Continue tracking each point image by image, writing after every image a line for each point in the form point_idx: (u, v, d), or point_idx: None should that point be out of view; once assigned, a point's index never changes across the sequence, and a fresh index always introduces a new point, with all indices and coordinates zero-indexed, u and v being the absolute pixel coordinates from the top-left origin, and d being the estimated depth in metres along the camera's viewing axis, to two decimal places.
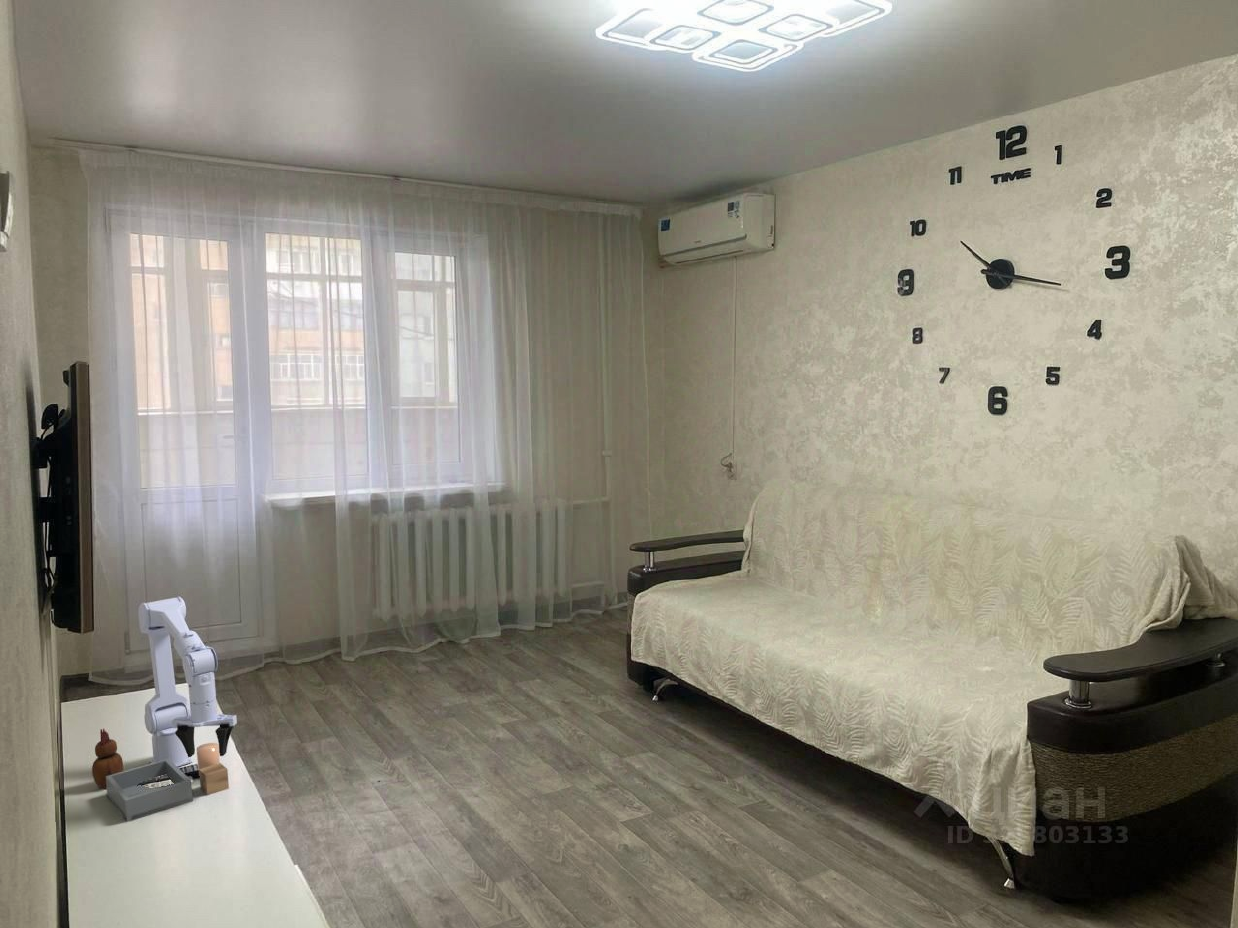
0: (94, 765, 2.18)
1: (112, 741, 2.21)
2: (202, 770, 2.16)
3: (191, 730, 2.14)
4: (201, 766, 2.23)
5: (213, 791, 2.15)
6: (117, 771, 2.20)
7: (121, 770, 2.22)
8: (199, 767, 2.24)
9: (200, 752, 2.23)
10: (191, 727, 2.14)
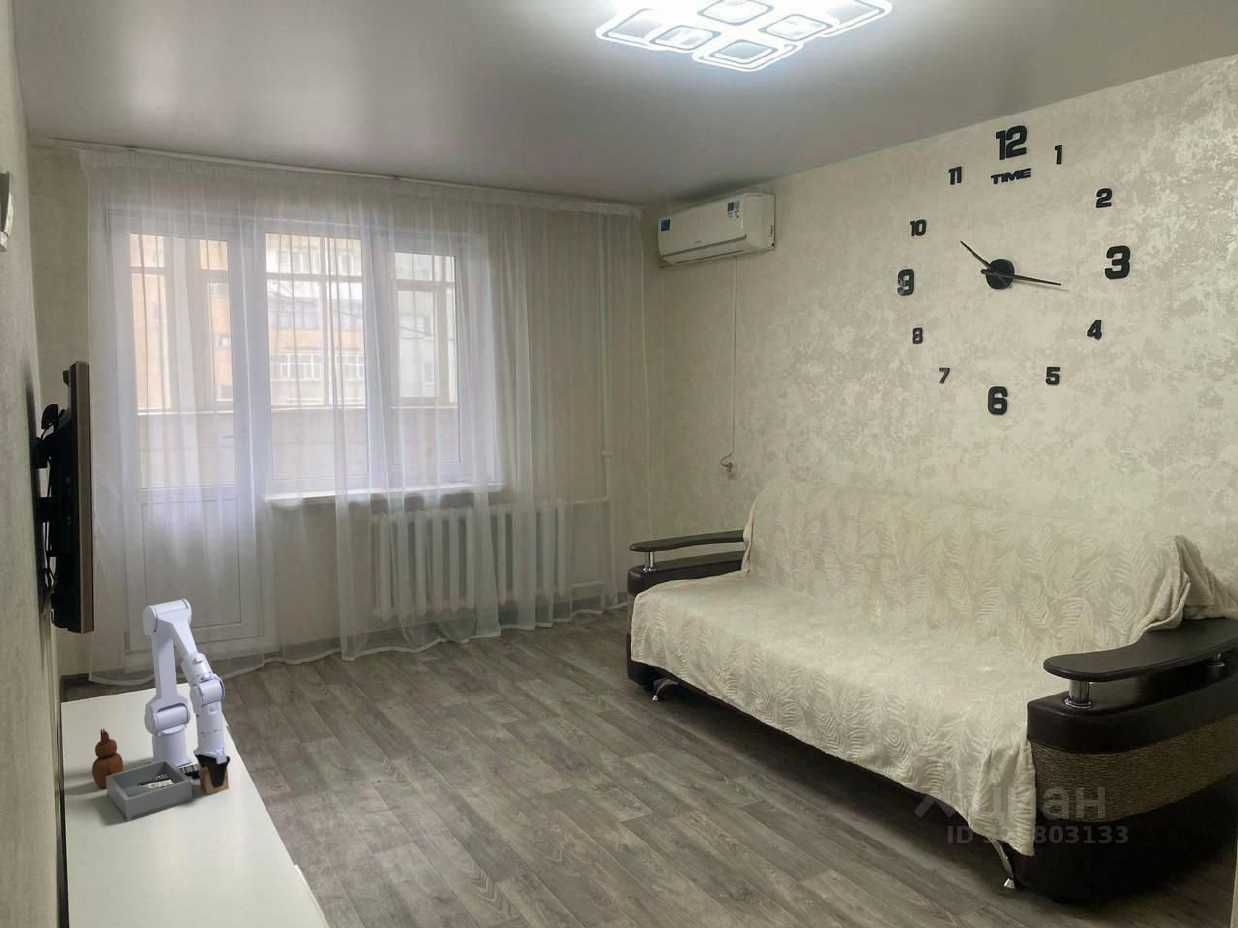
0: (94, 765, 2.18)
1: (112, 741, 2.21)
2: (202, 770, 2.16)
3: None
4: None
5: (213, 791, 2.15)
6: (117, 771, 2.20)
7: (121, 770, 2.22)
8: (199, 767, 2.24)
9: None
10: None
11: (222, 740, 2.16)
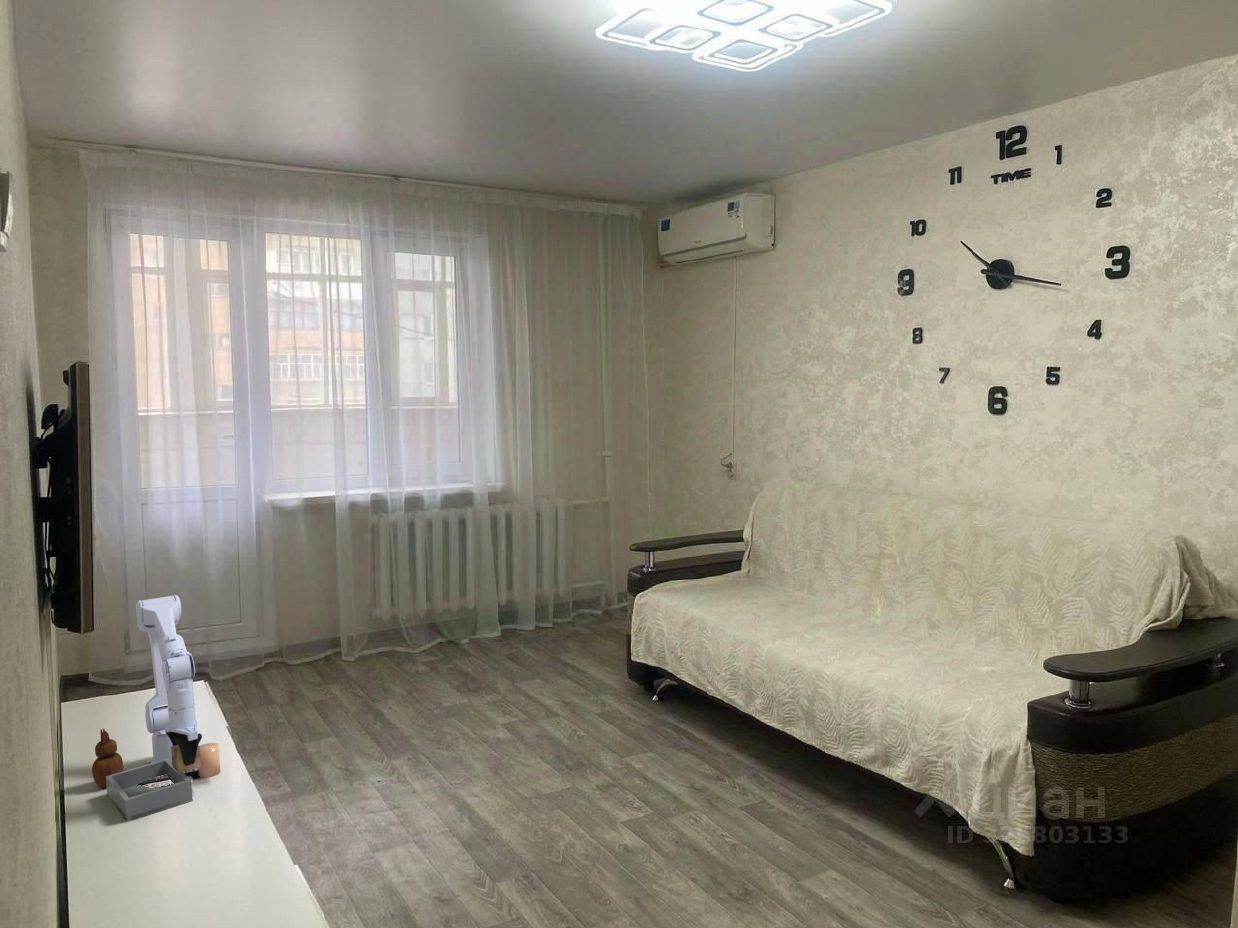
0: (94, 765, 2.18)
1: (112, 741, 2.21)
2: (174, 747, 2.13)
3: None
4: (201, 766, 2.23)
5: (185, 768, 2.11)
6: (117, 771, 2.20)
7: (121, 770, 2.22)
8: (199, 767, 2.24)
9: (200, 752, 2.23)
10: None
11: (194, 717, 2.13)
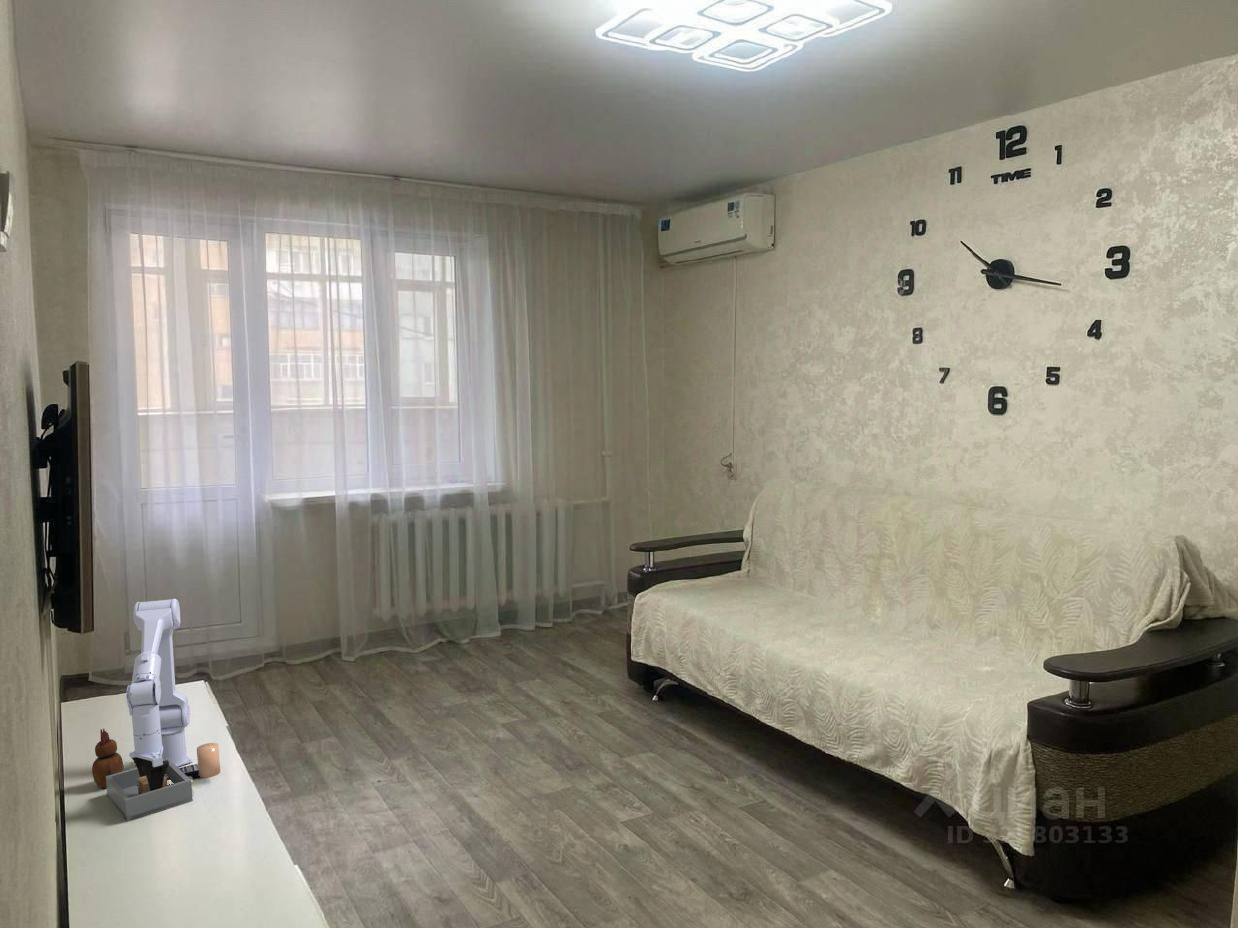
0: (94, 765, 2.18)
1: (112, 741, 2.21)
2: (140, 779, 2.10)
3: None
4: (201, 766, 2.23)
5: None
6: (117, 771, 2.20)
7: (121, 770, 2.22)
8: (199, 767, 2.24)
9: (200, 752, 2.23)
10: None
11: (160, 743, 2.09)
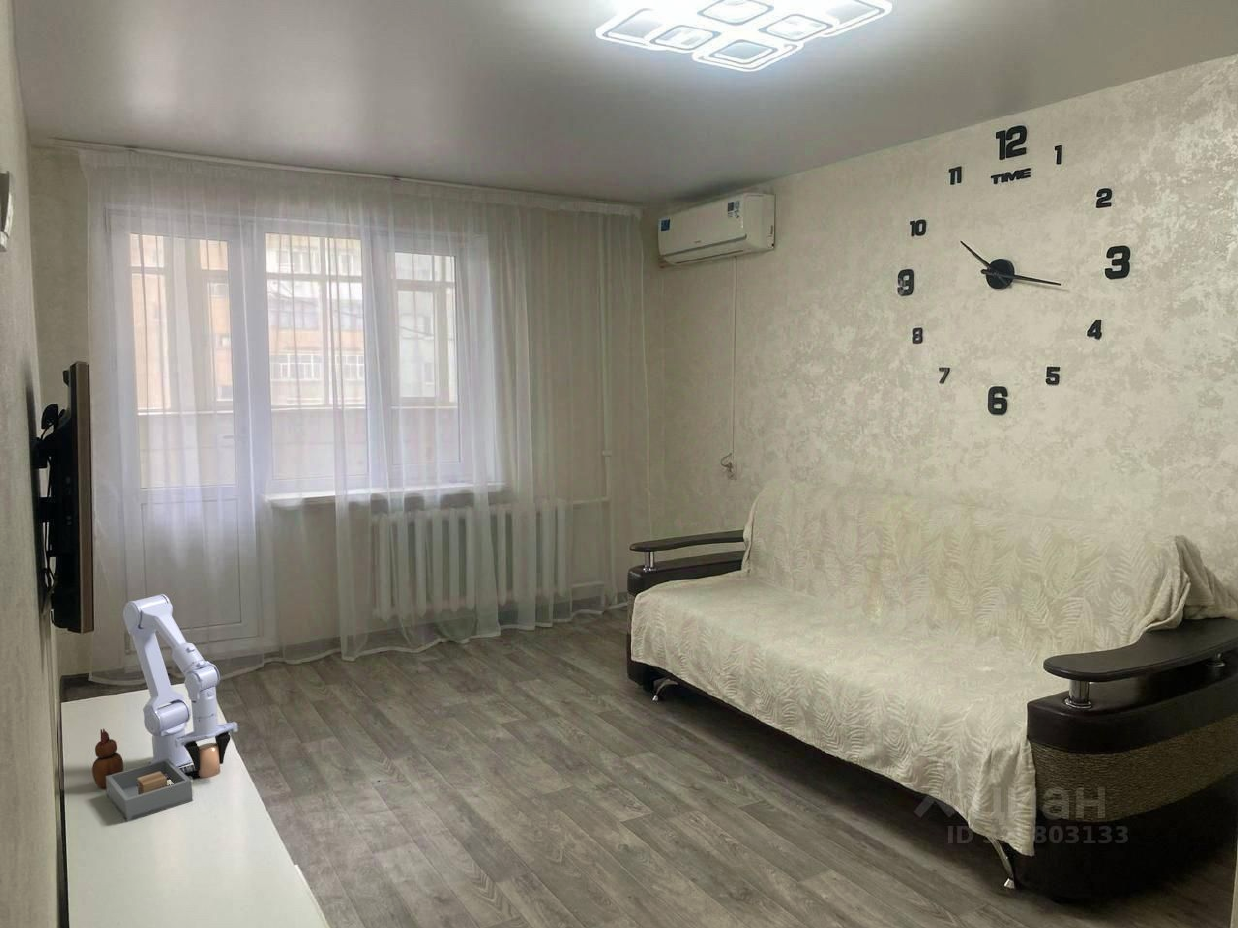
0: (94, 765, 2.18)
1: (112, 741, 2.21)
2: (140, 779, 2.10)
3: None
4: (201, 766, 2.23)
5: None
6: (117, 771, 2.20)
7: (121, 770, 2.22)
8: None
9: (200, 752, 2.23)
10: None
11: None
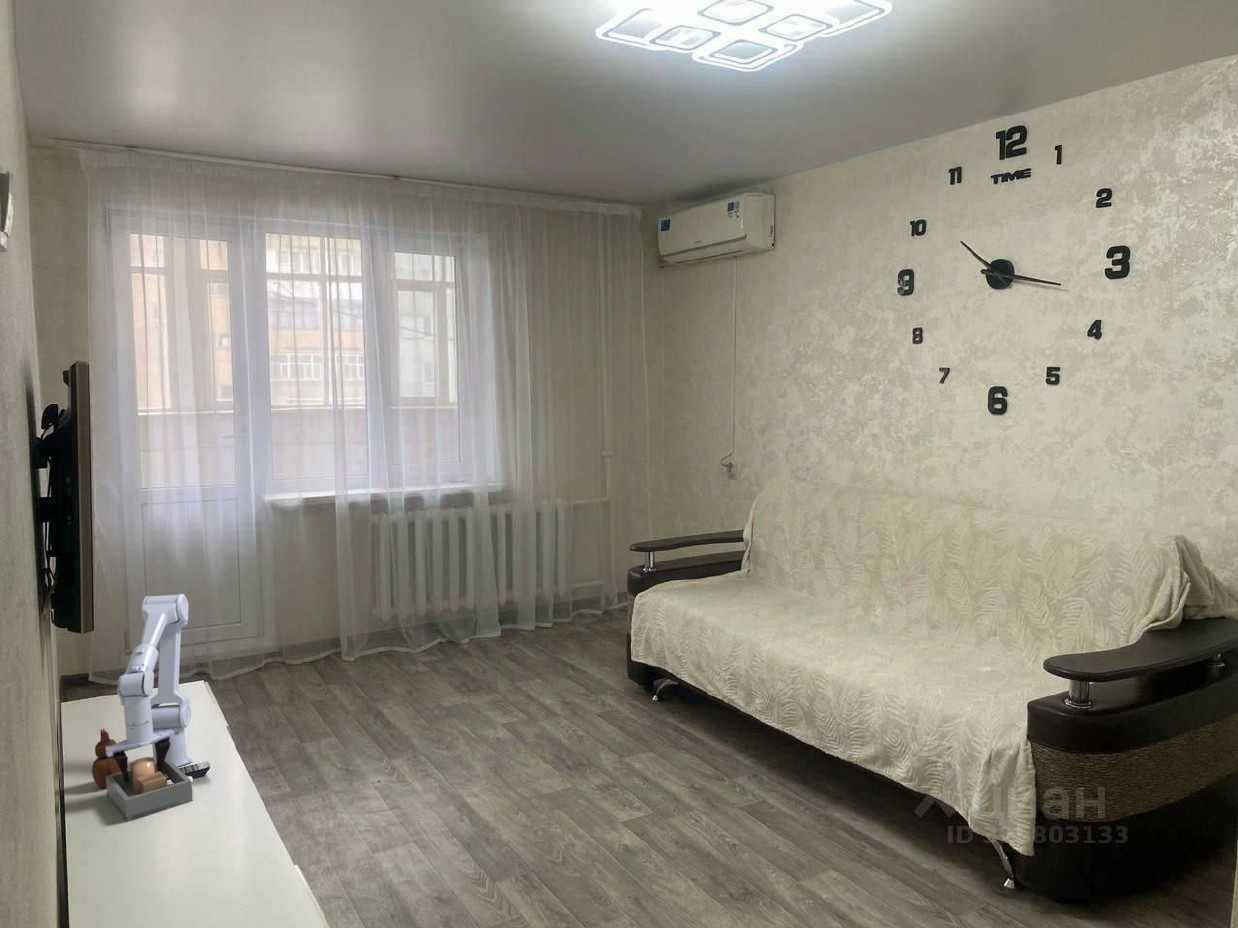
0: (94, 765, 2.18)
1: (112, 741, 2.21)
2: (140, 779, 2.10)
3: None
4: (135, 782, 2.13)
5: None
6: (117, 771, 2.20)
7: None
8: (133, 783, 2.14)
9: (134, 767, 2.13)
10: None
11: None
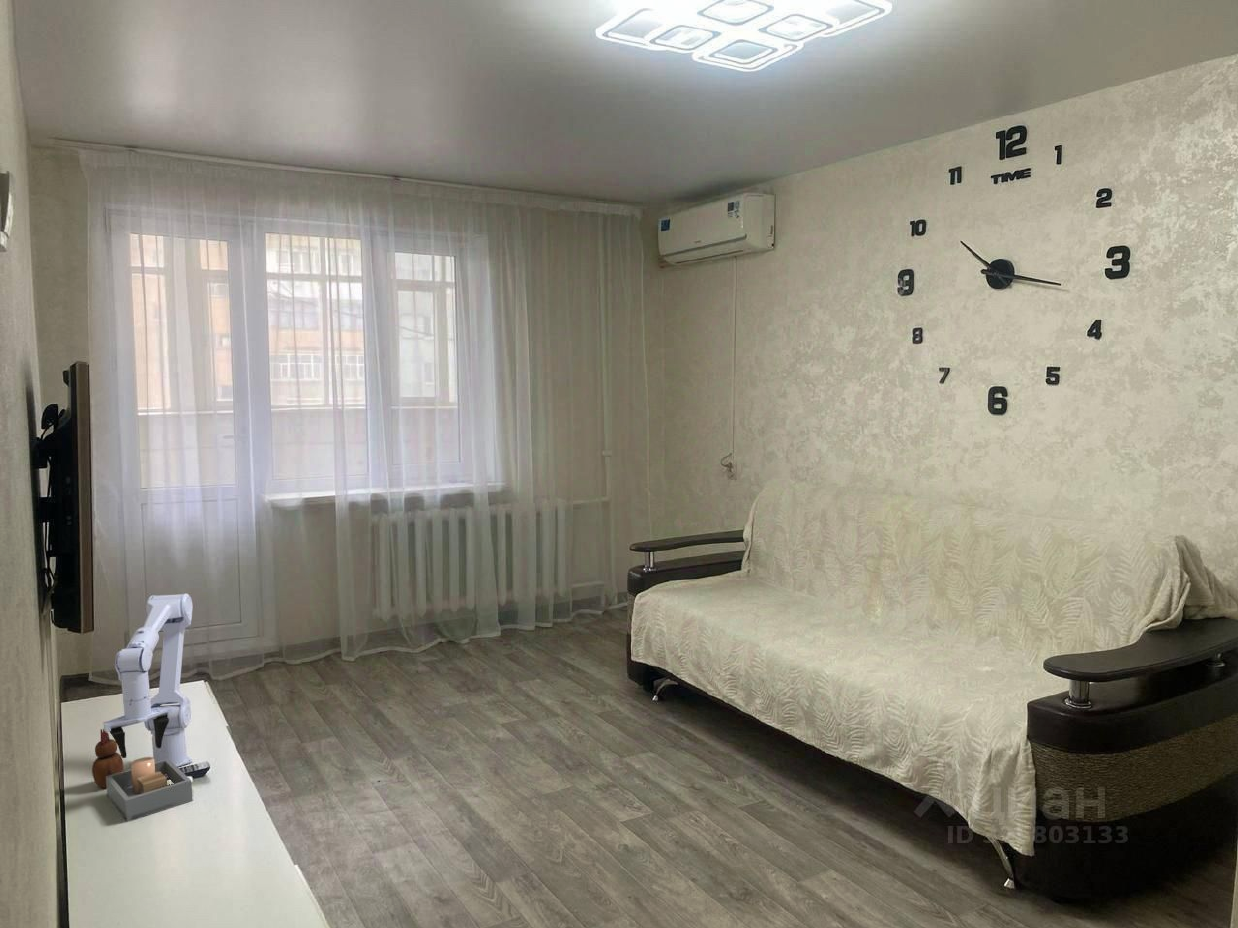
0: (94, 765, 2.18)
1: (112, 741, 2.21)
2: (140, 779, 2.10)
3: None
4: (135, 782, 2.13)
5: None
6: (117, 771, 2.20)
7: (121, 770, 2.22)
8: (133, 783, 2.14)
9: (134, 767, 2.13)
10: None
11: None
